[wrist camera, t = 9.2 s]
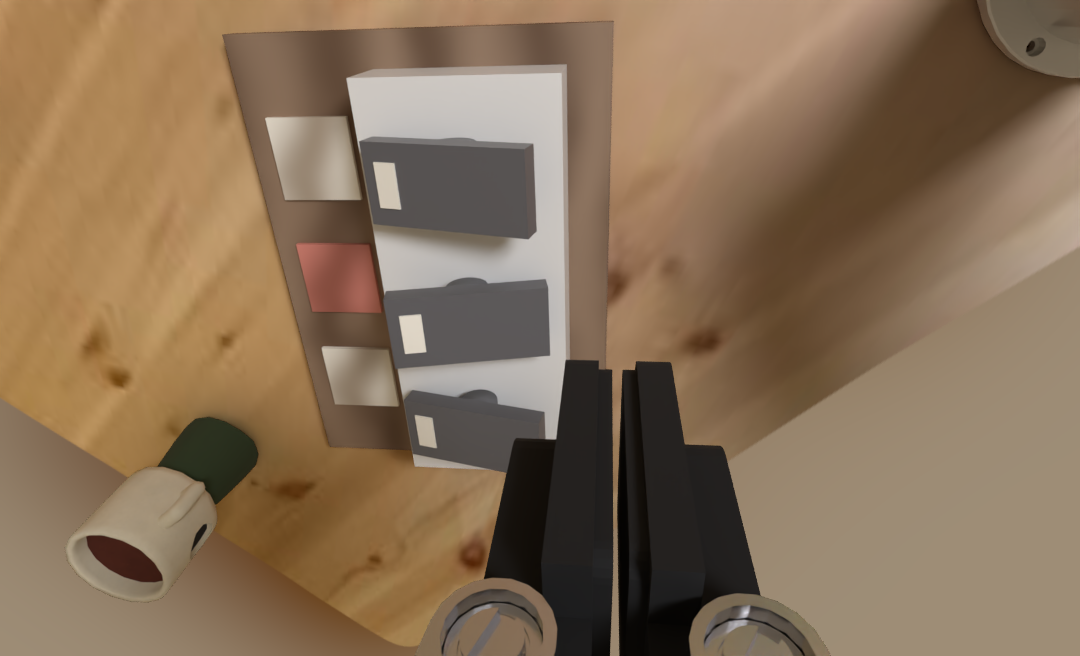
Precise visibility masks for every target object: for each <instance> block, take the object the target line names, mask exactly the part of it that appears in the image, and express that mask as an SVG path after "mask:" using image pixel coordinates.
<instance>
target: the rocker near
mask: <svg viewBox="0 0 1080 656" xmlns="http://www.w3.org/2000/svg"><path fill="white" fill-rule="evenodd" d="M359 145H360V150H361V156H362V162H363V167H364V173H365V179H366V184H367V190H368V196H369V202H370V207H371V213H372V219H373V224H376V225H386V226H396V227H406V228H417V229H427V230H437V231H447V232H457V233H468V234H478V235H488V236H498V237H509V238H519V239H529V238H530V237H531V236H532V235H533V234H534V233H536V232H537V226H536V199H535V173H534V146H533V143H510V142H488V141H476V140H474V139H471V138H444V139H421V138H398V137H376V136H372V137H369V138H366V139H364V140H361V141H359Z"/></svg>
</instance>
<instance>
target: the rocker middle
mask: <svg viewBox="0 0 1080 656" xmlns="http://www.w3.org/2000/svg"><path fill="white" fill-rule="evenodd" d="M383 302H384V308H385V314H386V319H387V325H388V330H389V336H390V342H391V347H392V353H393V358H394V364H395V369H401V368H412V367H424V366H436V365H447V364H459V363H471V362H482V361H494V360H506V359H517V358H529V357H541V356H550V332H549V298H548V285H547V282H546V279H540V280H527V281H514V282H501V283H487V282H486V281H485V280H483V279H480V278H474V277H467V278H460V279H456V280H454V281H451V282H450V283H448V284H447V285H446V287H435V288H421V289H408V290H395V291H386V292H385V296H384V300H383Z"/></svg>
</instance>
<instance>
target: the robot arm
mask: <svg viewBox="0 0 1080 656" xmlns="http://www.w3.org/2000/svg"><path fill="white" fill-rule="evenodd" d="M977 3H978V6H979V10H980V14H981V18H982V21H983V24H984V26H985V28H986V30H987V31H988V33H989V35H990V37H991V39H992V41H993V42H994V43H995V44H996V45H997V46H998V48H999V49H1000V50H1001V51H1002V52H1003V53H1004V54H1005V55H1006V56H1007V57H1008V58H1010V59H1012V60H1013V61H1015V62H1017V63H1018V64H1020V65H1022V66H1023V67H1025V68H1027V69H1030V70H1034V71H1037V72H1040V73H1044V74H1047V75H1053V76H1060V77H1066V78H1080V0H977ZM1029 42H1030V46H1029V48H1028V49H1027V50H1026V47H1027V45H1028V44H1029ZM617 522H618V589H619V654H620V655H619V656H831V655H830V653H829V651H828V649H827V647H826V646H825V644H824V643H823V641H822V640H821V638H820V637H819V635H818V634H817V632H816V631H815V629H814V628H813V627H812V626H811V625H810V624H808V623H807V622H806V621H805V620H804V619H803V618H802V617H801V616H800V615H799V614H798V613H796V612H795V611H793V610H791V609H789V608H788V607H786V606H784V605H783V604H781V603H779V602H778V601H775V600H771V599H768V598H765V597H762V596H761V595H760V591H759V587H758V583H757V579H756V575H755V572H754V567H753V563H752V559H751V555H750V552H749V548H748V543H747V539H746V535H745V531H744V527H743V523H742V519H741V516H740V511H739V507H738V503H737V499H736V495H735V491H734V488H733V483H732V479H731V475H730V471H729V467H728V463H727V459H726V455H725V452H724V449H723V448H722V447H721V446H708V445H685V444H684V438H683V432H682V426H681V419H680V413H679V407H678V401H677V395H676V389H675V383H674V377H673V371H672V365H671V363H670V362H641V361H636V367H635V370H623V373H622V397H621V422H620V447H619V472H618V500H617ZM612 583H613V435H612V370H608V369H599V360H566V361H565V368H564V377H563V385H562V393H561V402H560V410H559V418H558V427H557V435H556V439H531V438H516V439H515V440H514V443H513V446H512V451H511V455H510V460H509V465H508V469H507V474H506V479H505V483H504V488H503V493H502V497H501V502H500V507H499V511H498V516H497V521H496V525H495V530H494V535H493V539H492V544H491V549H490V553H489V558H488V563H487V567H486V572H485V577H484V580H479V581H474V582H472V583H470V584H468V585H466V586H464V587H462V588H460V589H458V590H456V591H455V592H454V593H453V594H451V595H450V596H449V597H448V598H447V599H446V600H445V601H444V602H442V603H441V605H440V606H439V608H438V610H437V611H436V613H435V614H434V616H433V617H432V619H431V621H430V623H429V625H428V627H427V630H426V632H425V634H424V636H423V638H422V641H421V643H420V645H419V647H418V650H417V652H416V654H415V656H610V637H611V612H612V586H613V584H612Z"/></svg>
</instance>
